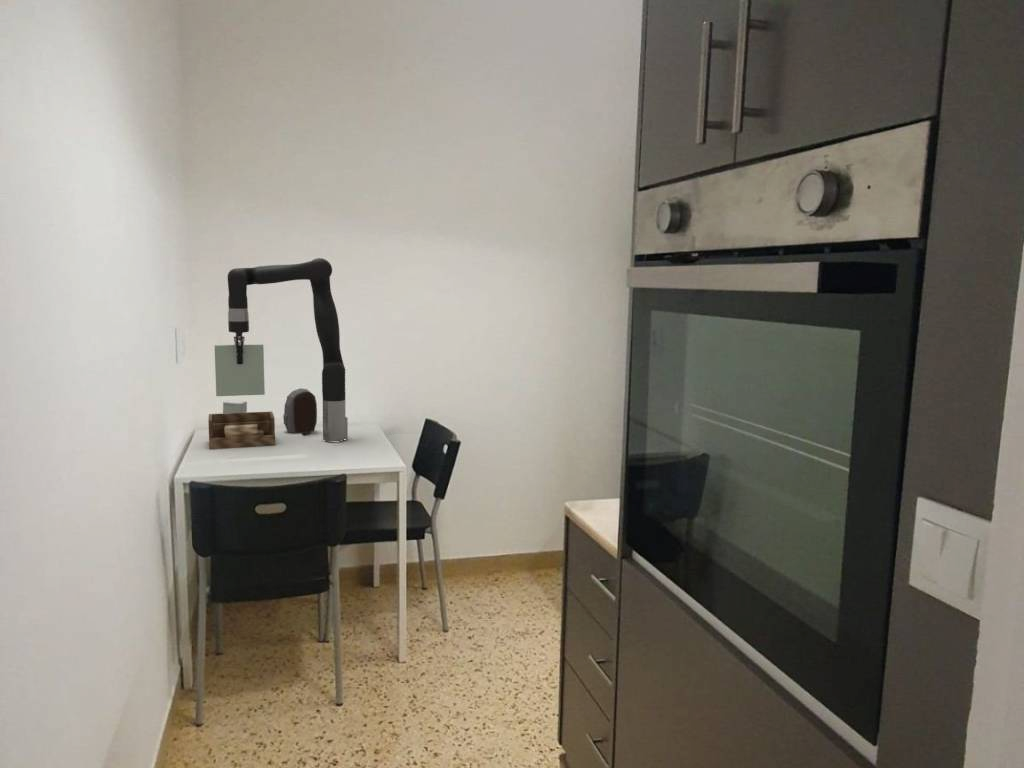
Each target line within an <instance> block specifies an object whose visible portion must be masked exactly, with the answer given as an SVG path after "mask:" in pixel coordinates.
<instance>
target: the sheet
mask: <svg viewBox="0 0 1024 768" xmlns="http://www.w3.org/2000/svg"><path fill="white" fill-rule="evenodd" d="M264 349H265V348H264V344H244V349H243V352H244V353H243V364H237V355H236V349H235V344H215V345H214V366H215V367H214V369H215V371H214V372H215V392H216V394H215V397H235V396H236V397H237V396H238V397H239V396H262V395H263V396H265V395H266V393H265V391H266V389H265V388H266V387H265V358H264V357H265V356H264V355H265V354H264ZM238 351H242V349H238Z"/></svg>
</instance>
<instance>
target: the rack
mask: <svg viewBox="0 0 1024 768" xmlns="http://www.w3.org/2000/svg"><path fill="white" fill-rule="evenodd" d="M207 420H208V421H207V422H208V445H209V447H208V448H209V450H221V449H222V450H223V449H225V450H226V449H239V448H242V449H243V448H256V447H257V448H258V447H273V446H275V447H276V428H275V427H276V426H275V425H276V424H275V416H274V412H273V411H270V410H269V411H252V412H251V411H250V412H248V411H247V412H246V413H223V412H221V413H208V419H207ZM248 424H257V429H258V430H263V432H264V435H263V436H245V437H226V438H225V430H224V428H225V425H248Z"/></svg>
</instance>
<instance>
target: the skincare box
mask: <svg viewBox="0 0 1024 768" xmlns="http://www.w3.org/2000/svg"><path fill="white" fill-rule="evenodd" d="M247 409H248V402H247V401H244V400H243V401H242V400H226V401H223V402H222V413H246V412H248V410H247Z"/></svg>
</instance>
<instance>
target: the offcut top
mask: <svg viewBox="0 0 1024 768" xmlns="http://www.w3.org/2000/svg"><path fill="white" fill-rule="evenodd" d="M224 430H225V434H246V433H257V432H258V429H257V424H248V425H225V428H224Z"/></svg>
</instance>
